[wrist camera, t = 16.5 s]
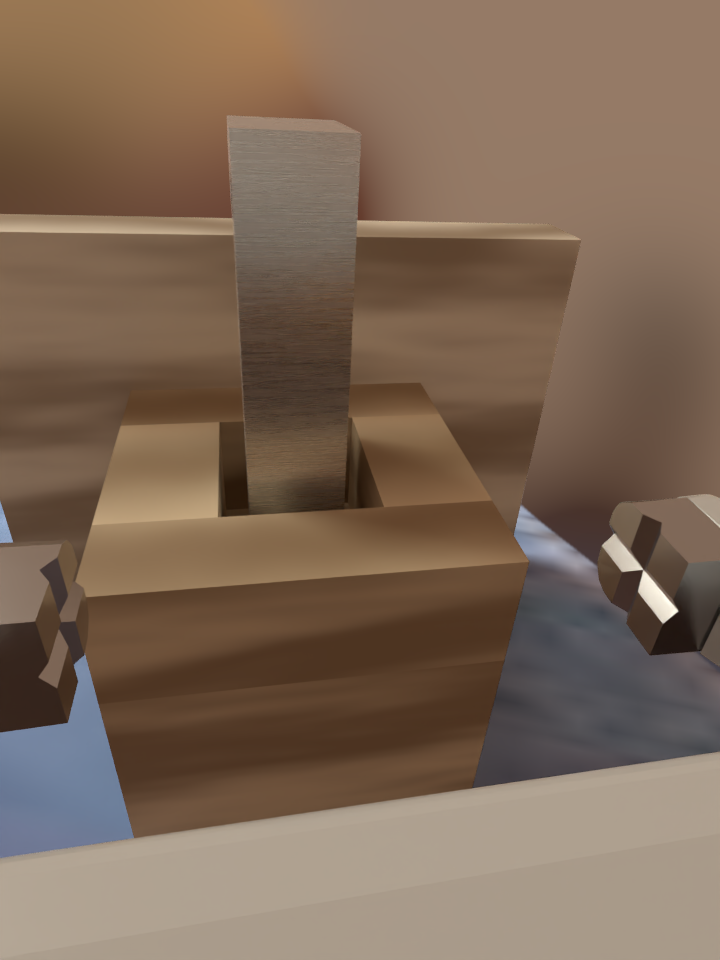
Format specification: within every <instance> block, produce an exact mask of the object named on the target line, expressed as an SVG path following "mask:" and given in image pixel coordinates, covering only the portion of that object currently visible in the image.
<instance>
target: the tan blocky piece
mask: <svg viewBox="0 0 720 960" xmlns="http://www.w3.org/2000/svg"><path fill="white" fill-rule="evenodd" d="M580 243H581V240H580V239H578V238H576V237H574V236H572V235H570V234H568V233H566V232H564V231H562V230H560V229H558V228H556V227H554V226H552V225H550V224H512V223H459V222H456V223H455V222H402V221H357V235H356V257H355V279H354V301H353V323H352V346H351V368H350V390H349V412H348V434H347V456H346V479H345V501H344V510H329V511H313V512H297V513H280V514H264V515H249V511H248V493H247V475H246V457H245V439H244V420H243V402H242V384H241V366H240V348H239V330H238V311H237V293H236V275H235V257H234V239H233V221H232V218H186V217H184V218H183V217H182V218H181V217H131V216H130V217H129V216H77V215H22V214H0V501H1V504H2V508H3V511H4V514H5V517H6V520H7V524H8V527H9V530H10V533H11V536H12V540H13V543H14V542H35V541H55V540H67V541H69V542H70V543H71V544H72V546H73V549H74V553H75V556H76V560H77V563H78V564H77V568H76V571H75V575H74V578H73V580H74V581H75V582H76V583H78V584H79V585H80V586H82V587H83V588H84V591H85V595H86V599H87V606H88V615H89V623H88V639H87V644H86V649H85V655H86V659H87V662H88V666H89V670H90V674H91V677H92V681H93V685H94V689H95V692H96V696H97V700H98V704H99V708H100V711H101V715H102V719H103V723H104V726H105V730H106V734H107V738H108V741H109V745H110V749H111V753H112V756H113V760H114V764H115V768H116V771H117V775H118V779H119V783H120V786H121V790H122V794H123V798H124V802H125V805H126V809H127V813H128V817H129V820H130V824H131V828H132V832H133V835H134V838H140V837H146V836H153V835H160V834H167V833H173V832H180V831H187V830H194V829H200V828H207V827H214V826H221V825H227V824H234V823H241V822H248V821H254V820H261V819H268V818H275V817H282V816H288V815H295V814H302V813H309V812H315V811H322V810H329V809H336V808H342V807H349V806H356V805H363V804H370V803H376V802H383V801H390V800H397V799H404V798H410V797H417V796H424V795H431V794H438V793H444V792H451V791H458V790H465V789H472V787H473V783H474V779H475V775H476V771H477V767H478V763H479V759H480V755H481V751H482V747H483V743H484V739H485V735H486V731H487V727H488V723H489V719H490V715H491V712H492V708H493V704H494V700H495V696H496V692H497V688H498V684H499V680H500V676H501V672H502V668H503V664H504V660H505V656H506V652H507V648H508V644H509V640H510V636H511V632H512V628H513V624H514V621H515V617H516V613H517V609H518V605H519V601H520V597H521V593H522V589H523V585H524V581H525V577H526V573H527V569H528V565H529V560H528V559H527V557H526V555H525V554H524V552H523V550H522V549H521V547H520V545H519V544H518V542H517V541H516V539H515V537H514V531H515V527H516V523H517V518H518V514H519V510H520V505H521V501H522V496H523V492H524V487H525V483H526V479H527V474H528V470H529V466H530V461H531V457H532V452H533V448H534V444H535V440H536V435H537V431H538V426H539V422H540V418H541V413H542V409H543V404H544V400H545V396H546V392H547V387H548V383H549V378H550V374H551V370H552V365H553V361H554V357H555V352H556V348H557V343H558V339H559V335H560V330H561V326H562V322H563V317H564V313H565V308H566V304H567V300H568V295H569V291H570V287H571V282H572V278H573V273H574V269H575V265H576V260H577V256H578V252H579V247H580Z"/></svg>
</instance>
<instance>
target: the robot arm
mask: <svg viewBox="0 0 720 960" xmlns="http://www.w3.org/2000/svg"><path fill="white" fill-rule="evenodd" d="M609 524H610V526H611V528H612V530H613V532H614V535H613V536H612V537H611V538H610V539H609V540H608V541H606V542H605V543H604V544H603V545H602V548H601V551H600V555H599V559H598V575H599V581H600V583H601V586H602V588H603V591H604V593H605V594H606V595H607V597H608V598H609V600H610V601H611V603H613V604H615V605H616V606H618V607H620V608H622V609H623V610H625V611H627V612H628V615H627V622H626V624H627V625H628V626H629V628H630V629H631V630H632V632H633V633H634V635H635V636H636V637H637V639H638V640H639V641H640V643H641V644H642V646H643V647H644V648H645V650H646V651H647V652H648V654H649V655H661V654H672V653H684V652H696V651H701V653H700V654H701V655H703V656H704V657H706V658H707V659H709V660H710V661H712V662H713V663H714V664H716V665H717V666H719V667H720V498H718V497H715V496H712V495H709V494H704V495H693V496H684V497H678V498H672V499H658V500H646V501H631V502H621V503H620V504H619V505H618V506H617V507H616V508H615V509H614V511H613V514H612V517H611V520H610V523H609ZM77 564H78V563H77V560H76V556H75V553H74V549H73V546H72V544H71V543H70V542H69V541H67V540H55V541H35V542H14V543H0V732H7V731H14V730H21V729H28V728H35V727H42V726H49V725H56V724H63V723H68V720H69V716H70V711H71V707H72V703H73V699H74V695H75V691H76V687H77V683H78V680H77V676H76V672H75V669H74V664H75V663H76V662H77V661H78V660H79V659H80V658H81V657H82V656H84V653H85V649H86V644H87V639H88V623H89V615H88V606H87V599H86V595H85V591H84V588H83V587H82V586H80V585H79V584H78V583H76V582H75V581H74V580H73V578H74V575H75V571H76V568H77ZM0 960H720V752H714V753H707V754H701V755H694V756H687V757H681V758H674V759H667V760H661V761H654V762H647V763H640V764H634V765H627V766H620V767H614V768H607V769H600V770H594V771H587V772H580V773H574V774H567V775H560V776H553V777H546V778H540V779H533V780H526V781H519V782H512V783H506V784H499V785H492V786H485V787H478V788H472V789H465V790H458V791H451V792H444V793H438V794H431V795H424V796H417V797H410V798H404V799H397V800H390V801H383V802H376V803H370V804H363V805H356V806H349V807H342V808H336V809H329V810H322V811H315V812H309V813H302V814H295V815H288V816H282V817H275V818H268V819H261V820H254V821H248V822H241V823H234V824H227V825H221V826H214V827H207V828H200V829H194V830H187V831H180V832H173V833H167V834H160V835H153V836H146V837H140V838H133V839H126V840H119V841H113V842H106V843H99V844H92V845H85V846H79V847H72V848H65V849H58V850H52V851H45V852H38V853H31V854H25V855H18V856H11V857H4V858H0Z"/></svg>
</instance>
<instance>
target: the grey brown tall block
mask: <svg viewBox="0 0 720 960" xmlns="http://www.w3.org/2000/svg"><path fill="white" fill-rule="evenodd" d="M227 139H228V156H229V172H230V173H229V174H230V193H231V206H232V221H233V239H234V257H235V275H236V293H237V311H238V330H239V348H240V366H241V384H242V402H243V420H244V439H245V457H246V475H247V493H248V511H249V515H264V514H280V513H297V512H313V511H329V510H344V501H345V479H346V456H347V434H348V412H349V390H350V368H351V346H352V323H353V301H354V279H355V257H356V235H357V213H358V212H357V211H358V191H359V168H360V146H361V133H359V132H357V131H355V130H353V129H351V128H349V127H347V126H345V125H343V124H341V123H339V122H337V121H335V120H315V119H293V118H291V119H290V118H271V117H249V116H227Z"/></svg>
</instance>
